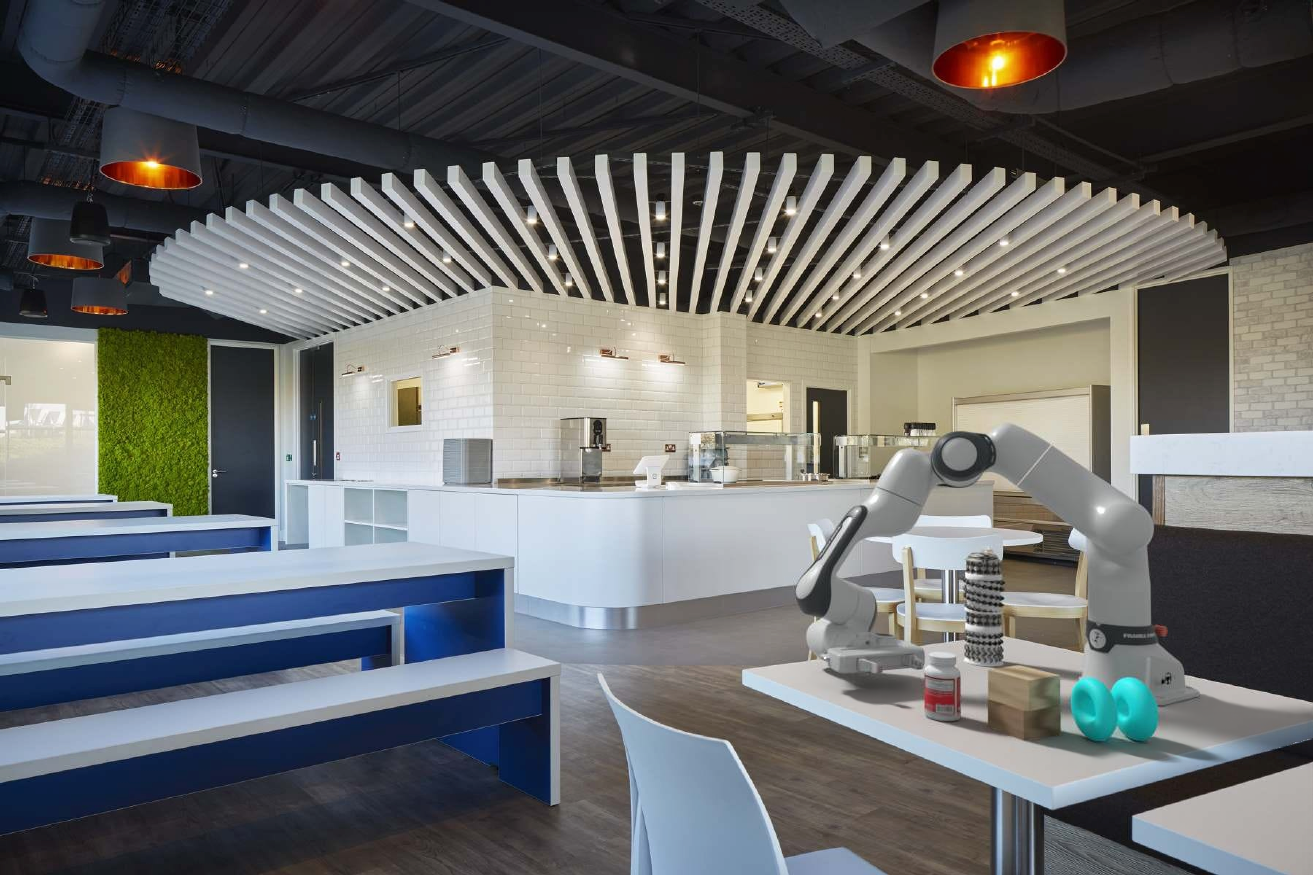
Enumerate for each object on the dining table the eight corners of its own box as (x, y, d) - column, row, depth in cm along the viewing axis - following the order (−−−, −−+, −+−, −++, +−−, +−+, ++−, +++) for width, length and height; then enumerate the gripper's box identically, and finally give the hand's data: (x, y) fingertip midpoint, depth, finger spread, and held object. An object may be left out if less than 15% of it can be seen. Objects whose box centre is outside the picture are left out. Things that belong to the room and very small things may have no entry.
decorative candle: (984, 668, 185) (984, 556, 186) (953, 659, 194) (953, 552, 195) (1014, 665, 189) (1014, 554, 190) (982, 656, 198) (982, 551, 199)
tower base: (1023, 722, 146) (1023, 694, 146) (1060, 736, 139) (1060, 706, 139) (987, 727, 143) (987, 697, 143) (1023, 741, 136) (1023, 710, 136)
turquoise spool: (1163, 749, 133) (1162, 685, 133) (1103, 749, 132) (1102, 686, 132) (1123, 729, 142) (1122, 670, 143) (1067, 730, 142) (1066, 671, 142)
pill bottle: (942, 710, 152) (942, 649, 153) (968, 719, 147) (968, 656, 147) (916, 714, 150) (916, 652, 150) (942, 723, 144) (942, 659, 145)
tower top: (1019, 693, 147) (1019, 664, 147) (1060, 705, 140) (1060, 675, 140) (988, 699, 143) (988, 669, 143) (1028, 711, 136) (1028, 680, 136)
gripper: (815, 639, 169) (854, 654, 156) (899, 633, 176) (942, 647, 163) (815, 670, 169) (853, 687, 156) (899, 663, 176) (942, 679, 163)
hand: (900, 667), depth 160 cm, fingers open, 8 cm apart
